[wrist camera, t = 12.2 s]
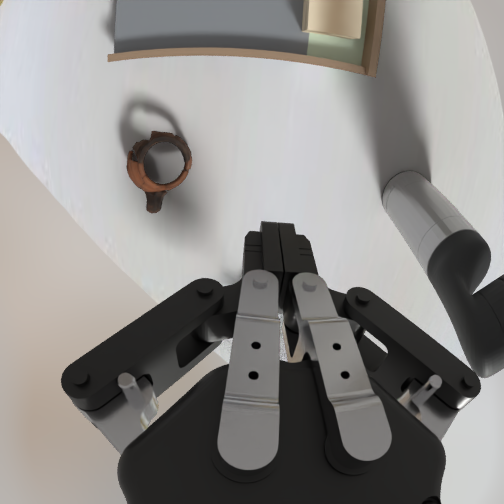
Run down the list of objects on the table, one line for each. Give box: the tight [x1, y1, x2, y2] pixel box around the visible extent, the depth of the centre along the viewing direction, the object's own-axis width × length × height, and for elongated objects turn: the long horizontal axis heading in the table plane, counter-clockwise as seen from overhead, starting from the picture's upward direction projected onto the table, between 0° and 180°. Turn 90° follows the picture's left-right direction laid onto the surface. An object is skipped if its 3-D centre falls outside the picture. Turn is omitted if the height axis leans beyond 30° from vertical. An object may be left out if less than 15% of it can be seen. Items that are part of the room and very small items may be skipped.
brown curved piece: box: [127, 131, 192, 213], centre depth 42 cm, size 12×10×8 cm
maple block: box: [302, 0, 363, 39], centre depth 26 cm, size 6×6×4 cm
